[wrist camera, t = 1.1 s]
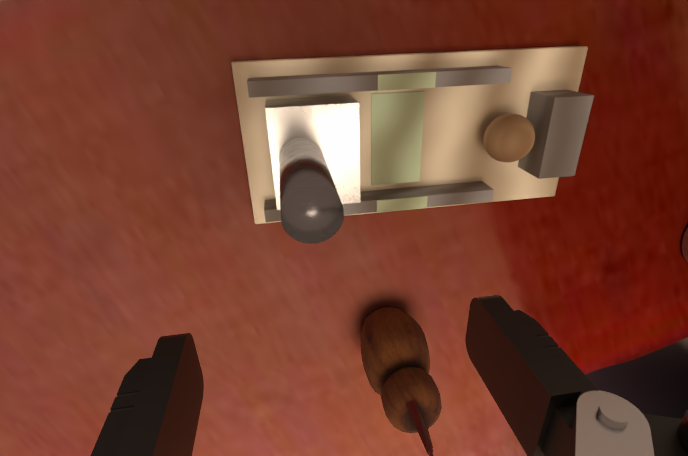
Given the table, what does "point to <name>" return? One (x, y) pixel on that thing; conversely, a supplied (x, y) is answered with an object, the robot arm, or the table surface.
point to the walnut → (509, 138)
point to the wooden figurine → (401, 371)
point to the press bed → (428, 122)
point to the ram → (314, 162)
